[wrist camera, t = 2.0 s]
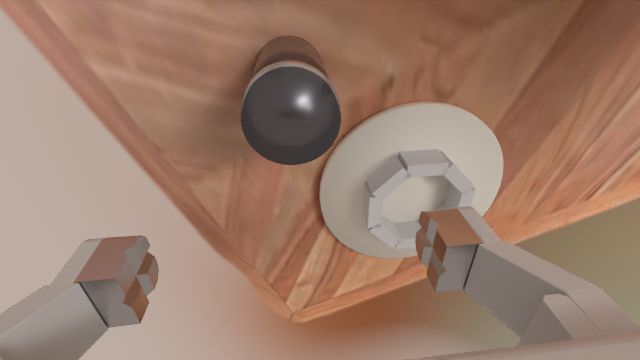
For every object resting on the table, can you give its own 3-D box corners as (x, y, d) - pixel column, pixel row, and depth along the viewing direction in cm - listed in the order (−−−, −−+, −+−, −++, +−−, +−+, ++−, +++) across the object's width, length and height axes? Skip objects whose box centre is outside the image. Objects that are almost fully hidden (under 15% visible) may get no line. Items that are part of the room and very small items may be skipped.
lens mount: (522, 95, 28) (549, 110, 25) (473, 245, 38) (489, 268, 35) (316, 107, 27) (320, 123, 24) (321, 258, 37) (324, 283, 34)
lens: (323, 32, 24) (343, 66, 16) (324, 103, 27) (342, 162, 19) (249, 35, 24) (230, 72, 15) (259, 106, 27) (247, 169, 18)
